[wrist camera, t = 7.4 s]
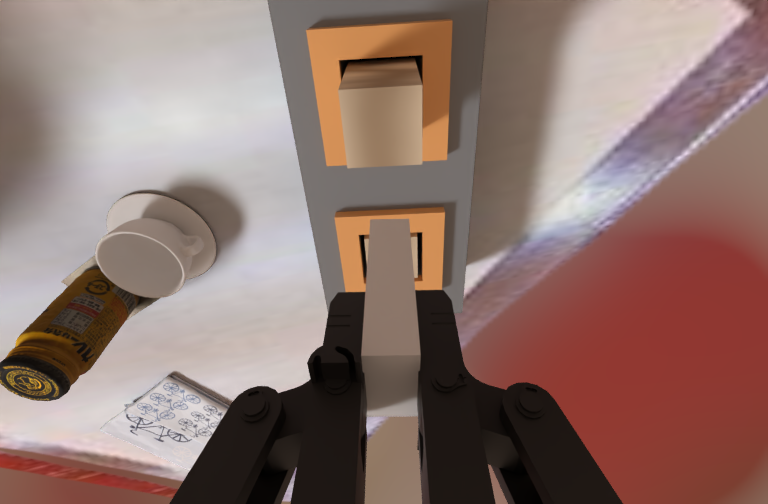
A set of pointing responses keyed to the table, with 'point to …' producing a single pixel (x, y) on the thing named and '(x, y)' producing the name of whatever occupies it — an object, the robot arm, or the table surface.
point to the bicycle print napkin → (169, 421)
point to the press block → (387, 183)
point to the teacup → (154, 245)
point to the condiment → (69, 335)
